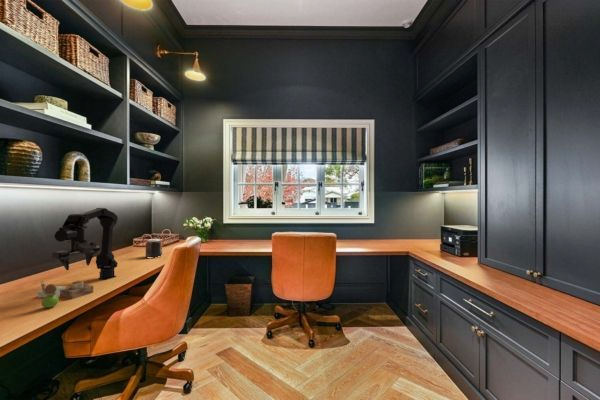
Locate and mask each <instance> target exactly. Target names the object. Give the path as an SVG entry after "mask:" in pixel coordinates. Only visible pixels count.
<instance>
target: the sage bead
mask: <svg viewBox="0 0 600 400" xmlns="http://www.w3.org/2000/svg"><path fill="white" fill-rule="evenodd" d="M55 286H56V288H57V289H56V291H55V292H54V293H56V294H55V295H56V296H60V290H61V289H64V288H67V287H66V285H65V286H63V285H61V286H57V285H55ZM46 296H47V295H45V294H44V293H43V291H42V289H41V290H38V291H37V298H45V297H46Z"/></svg>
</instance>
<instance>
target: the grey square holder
mask: <svg viewBox="0 0 600 400" xmlns="http://www.w3.org/2000/svg"><path fill="white" fill-rule="evenodd" d="M92 293H94V285H93V284H85V283H84V287H82V288H79V289H76V290H72V289H71V286H68V287H66V288H64V289H61V290H60V294H59V298H60V297H61V298H64V299H70V300H74V299H77V298H80V297H82V296H85V295H89V294H92Z"/></svg>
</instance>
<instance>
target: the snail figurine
mask: <svg viewBox="0 0 600 400" xmlns="http://www.w3.org/2000/svg"><path fill="white" fill-rule="evenodd" d="M40 286H41V290H42V291H43V293H44V294H45V295H47V296H46V297H43V299H42V300H41V306H42V307H43V308H46V309H51V308H54V307H56V306H57V305H58V303H59V301H60V297H59V295H57V296H56V295H55V294H56V293H54V292H55V291H56V289H57V288H56V286H57V285H56V284H53V283H50V284H47V285H46V283H45V282H44V280H41V281H40Z"/></svg>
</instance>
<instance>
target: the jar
mask: <svg viewBox="0 0 600 400" xmlns="http://www.w3.org/2000/svg"><path fill="white" fill-rule="evenodd" d="M161 255H162V256H163V241H161V240H160V238H150V239H147V241H146V242H145V258H146V257H158V256H161Z"/></svg>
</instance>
